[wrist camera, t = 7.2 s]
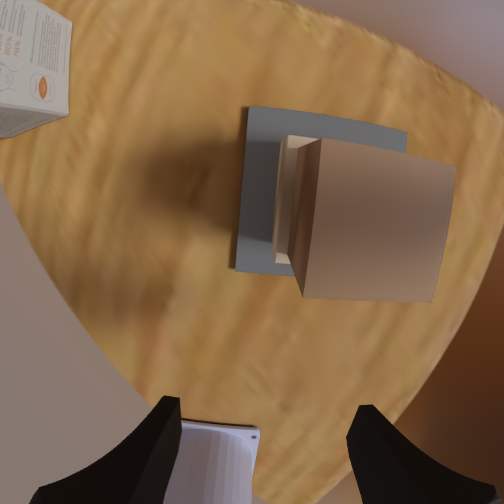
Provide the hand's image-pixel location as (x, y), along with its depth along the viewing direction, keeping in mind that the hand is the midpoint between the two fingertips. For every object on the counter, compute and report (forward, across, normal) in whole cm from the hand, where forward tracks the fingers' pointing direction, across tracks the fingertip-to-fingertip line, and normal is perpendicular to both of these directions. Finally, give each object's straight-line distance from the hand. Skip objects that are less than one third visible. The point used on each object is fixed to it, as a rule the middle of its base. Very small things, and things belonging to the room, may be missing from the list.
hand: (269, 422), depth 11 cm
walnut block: (+5, -3, -8) cm, 10 cm away
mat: (+10, -3, -8) cm, 13 cm away
